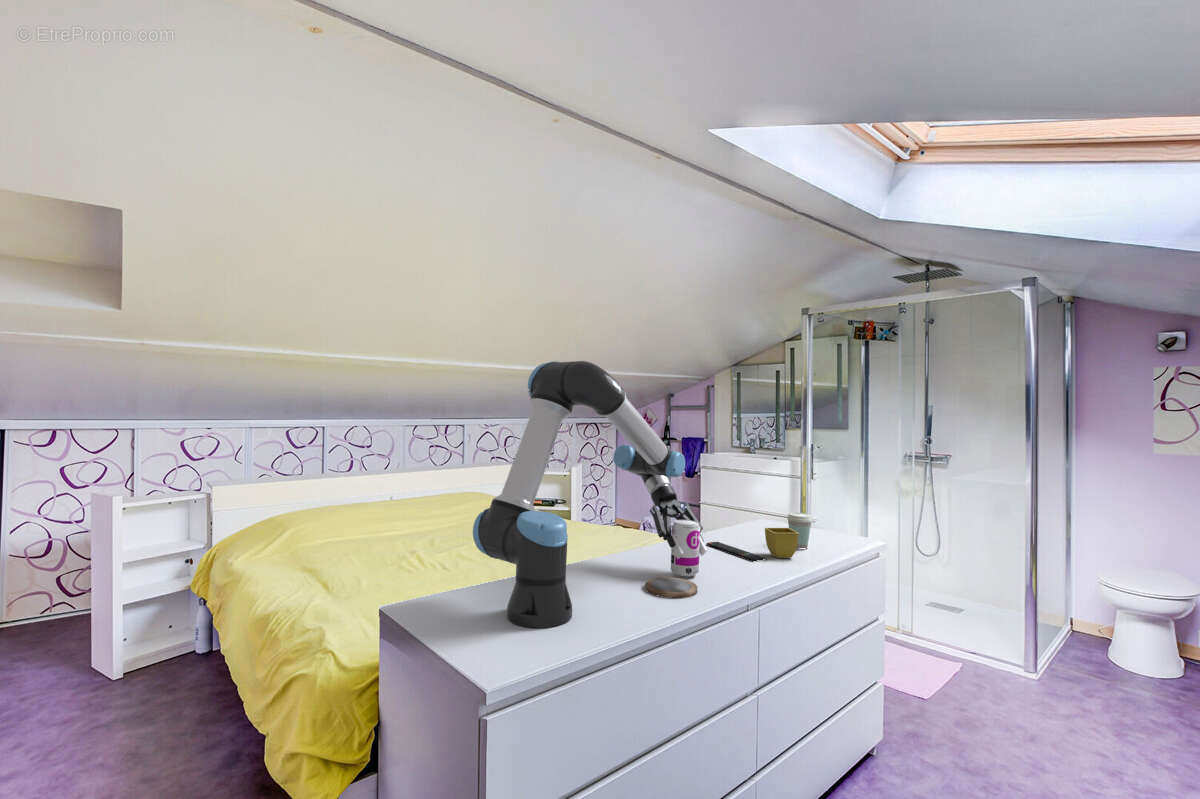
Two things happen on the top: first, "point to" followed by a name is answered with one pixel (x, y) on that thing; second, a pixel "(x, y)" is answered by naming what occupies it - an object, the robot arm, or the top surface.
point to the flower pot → (781, 541)
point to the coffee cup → (800, 527)
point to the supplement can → (686, 548)
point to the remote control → (735, 551)
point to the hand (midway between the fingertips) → (692, 554)
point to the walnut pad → (671, 587)
